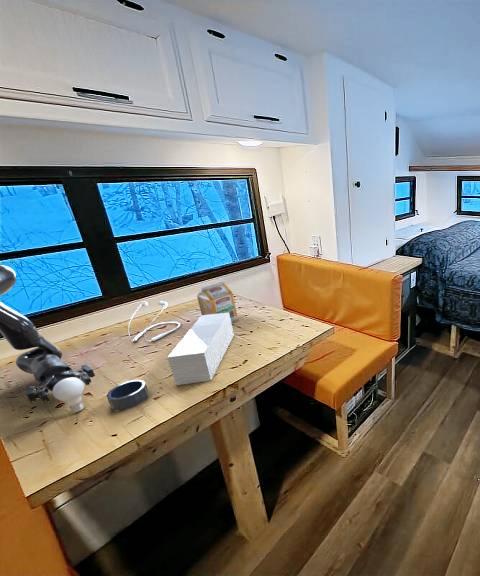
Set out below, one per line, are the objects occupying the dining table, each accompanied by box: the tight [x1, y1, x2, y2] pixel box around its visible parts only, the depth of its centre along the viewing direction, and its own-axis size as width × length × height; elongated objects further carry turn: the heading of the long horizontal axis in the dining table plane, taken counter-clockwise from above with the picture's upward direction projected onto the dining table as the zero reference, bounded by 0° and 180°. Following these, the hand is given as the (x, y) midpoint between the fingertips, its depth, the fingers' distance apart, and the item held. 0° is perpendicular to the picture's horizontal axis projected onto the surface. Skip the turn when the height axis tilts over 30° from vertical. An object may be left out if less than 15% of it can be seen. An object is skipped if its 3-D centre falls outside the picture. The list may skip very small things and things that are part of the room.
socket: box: [106, 379, 150, 412], centre depth 93 cm, size 9×9×4 cm
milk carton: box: [196, 280, 239, 324], centre depth 140 cm, size 11×11×19 cm
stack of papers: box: [167, 313, 235, 386], centre depth 113 cm, size 32×11×11 cm, turn 12°
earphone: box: [127, 300, 181, 343], centre depth 134 cm, size 14×17×18 cm
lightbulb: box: [51, 377, 85, 413], centre depth 88 cm, size 6×6×11 cm
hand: (68, 390), depth 88 cm, fingers open, 8 cm apart
